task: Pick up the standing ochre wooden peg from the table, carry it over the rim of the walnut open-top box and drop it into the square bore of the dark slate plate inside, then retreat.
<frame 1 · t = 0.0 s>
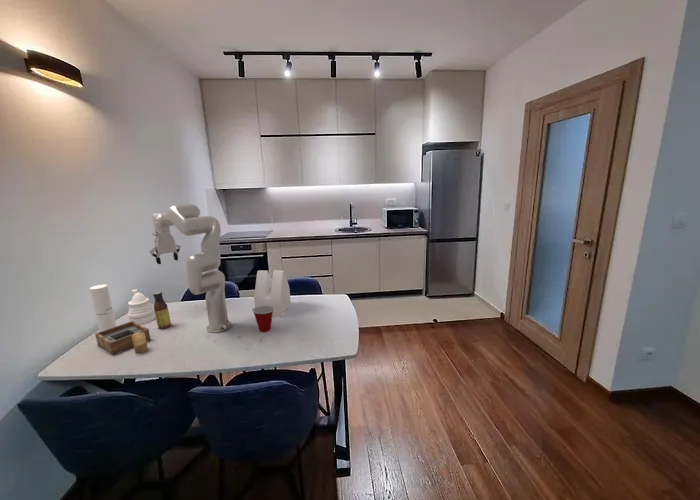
hand: (167, 262, 179), 31 cm above the table, tool pointing down, fingers open, 9 cm apart
honey pot: (142, 320, 174), on the table
white notched block: (274, 310, 182), on the table
plastic cup: (265, 329, 158), on the table
peg box: (124, 342, 149), on the table
sauce bottle: (164, 327, 165), on the table
peg: (141, 350, 141), on the table
cylindrical container: (108, 330, 162), on the table
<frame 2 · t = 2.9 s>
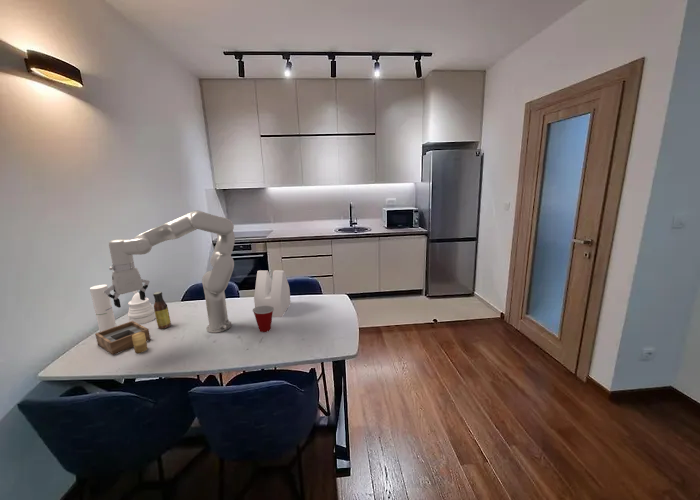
hand: (130, 303, 136), 24 cm above the table, tool pointing down, fingers open, 9 cm apart
nothing on the table moved.
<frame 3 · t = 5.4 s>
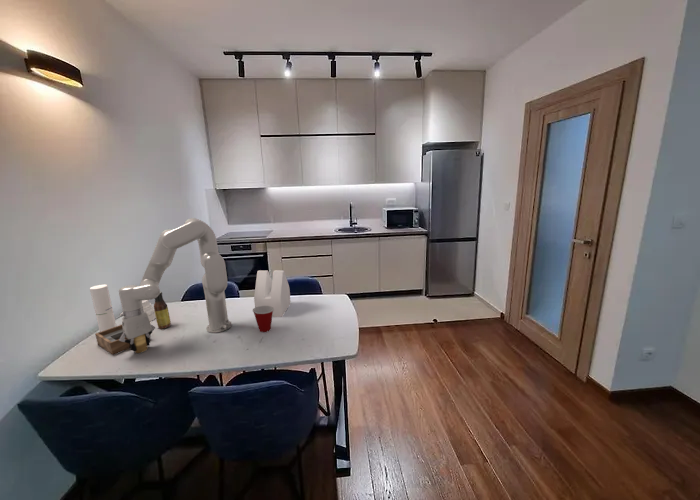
hand: (140, 347, 141), 1 cm above the table, tool pointing down, fingers closed on peg, 5 cm apart
peg: (141, 350, 141), on the table, touching gripper
everything else where it was.
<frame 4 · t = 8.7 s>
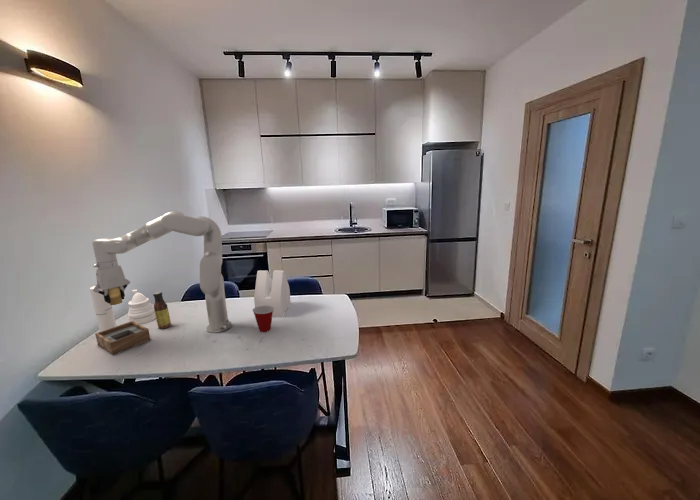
hand: (115, 300, 144), 22 cm above the table, tool pointing down, fingers closed on peg, 5 cm apart
peg: (116, 303, 144), point 21 cm above the table, touching gripper
everything else where it was.
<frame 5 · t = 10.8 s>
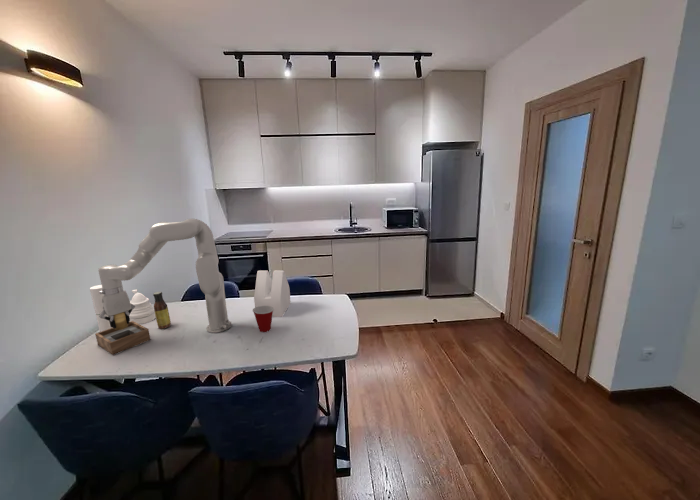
hand: (120, 324, 147), 9 cm above the table, tool pointing down, fingers closed on peg, 5 cm apart
peg: (121, 327, 147), point 8 cm above the table, touching gripper
everything else where it was.
when the fingers open (4 cm above the table, at t = 12.3 s): peg drops 2 cm, resting on peg box.
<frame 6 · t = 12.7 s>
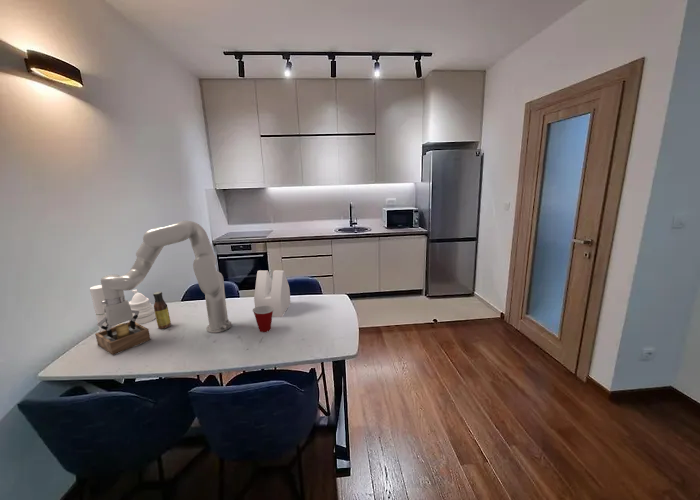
hand: (122, 332, 148), 5 cm above the table, tool pointing down, fingers open, 9 cm apart
peg: (124, 340, 149), point 1 cm above the table, touching peg box
everything else where it was.
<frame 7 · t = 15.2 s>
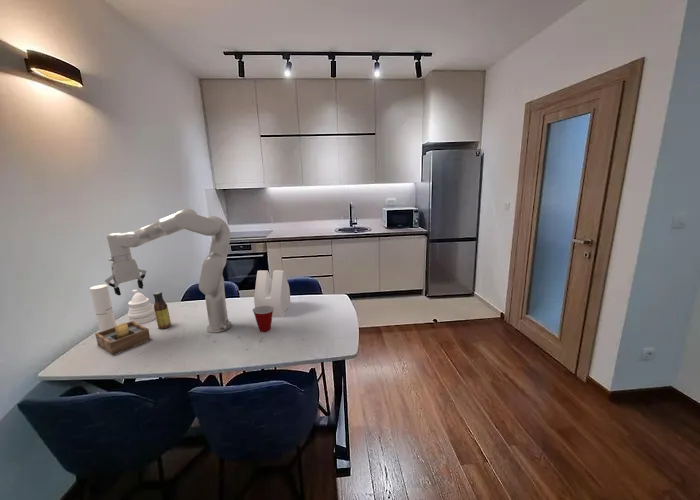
hand: (130, 291, 147), 25 cm above the table, tool pointing down, fingers open, 9 cm apart
nothing on the table moved.
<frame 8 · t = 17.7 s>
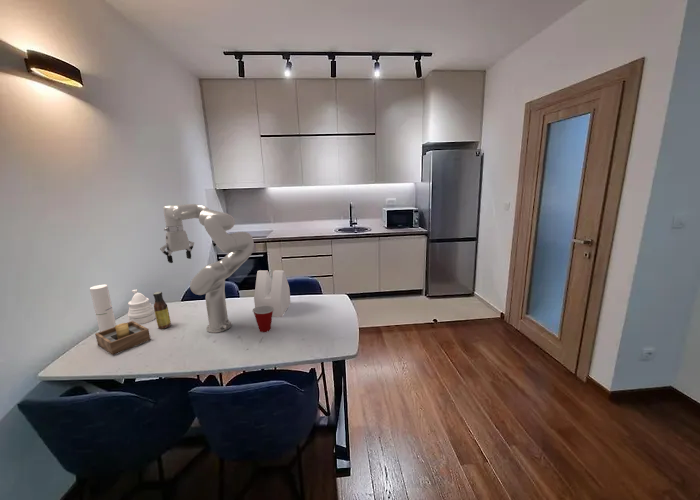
hand: (180, 260, 160), 36 cm above the table, tool pointing down, fingers open, 9 cm apart
nothing on the table moved.
at the end: peg 0.2 cm off-centre on the peg box, point 1.1 cm above the peg box's base; peg tilted 2°; the gripper is holding nothing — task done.
